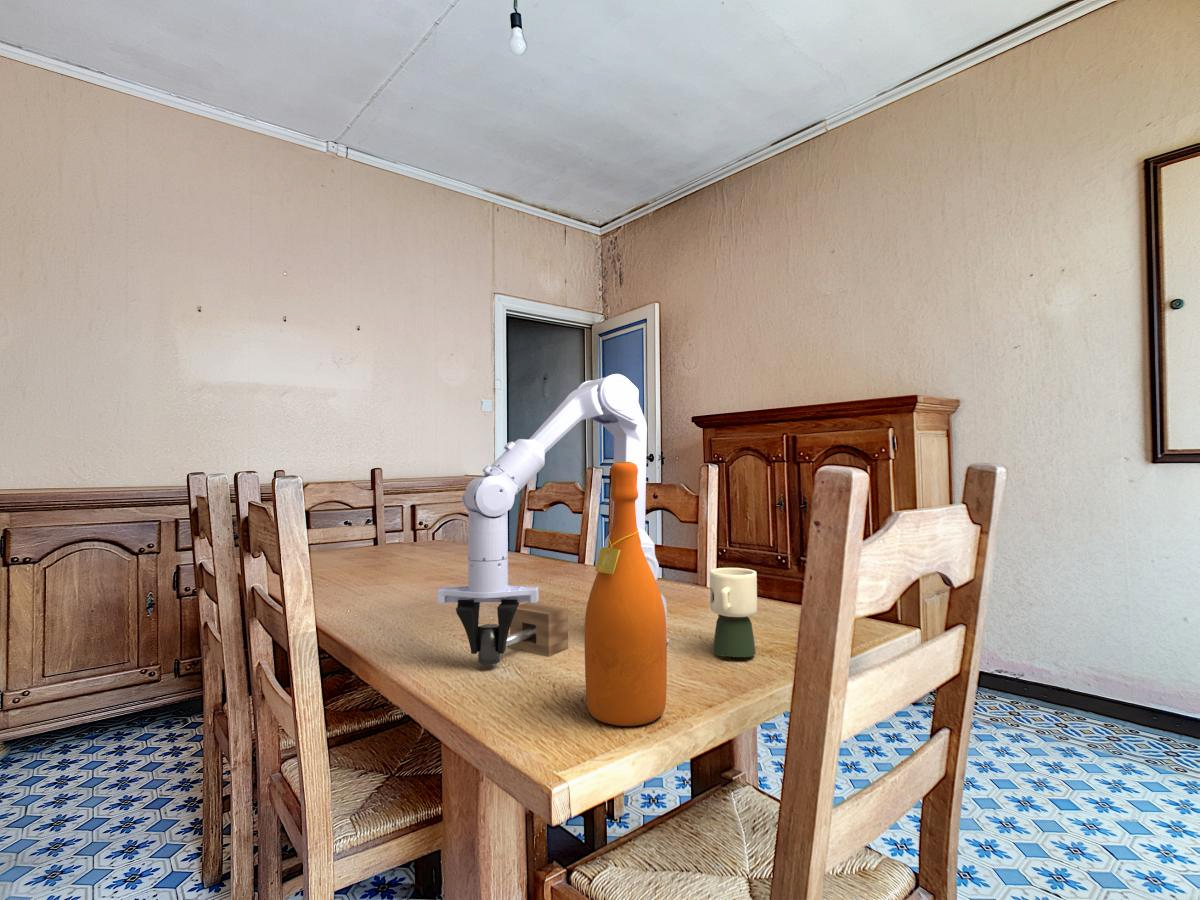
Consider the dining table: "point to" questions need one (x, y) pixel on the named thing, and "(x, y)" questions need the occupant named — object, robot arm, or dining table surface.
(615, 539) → the wine bottle
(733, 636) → the character mug
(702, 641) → the dining table surface
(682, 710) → the dining table surface
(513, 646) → the eye block
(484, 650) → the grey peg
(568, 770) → the dining table surface
